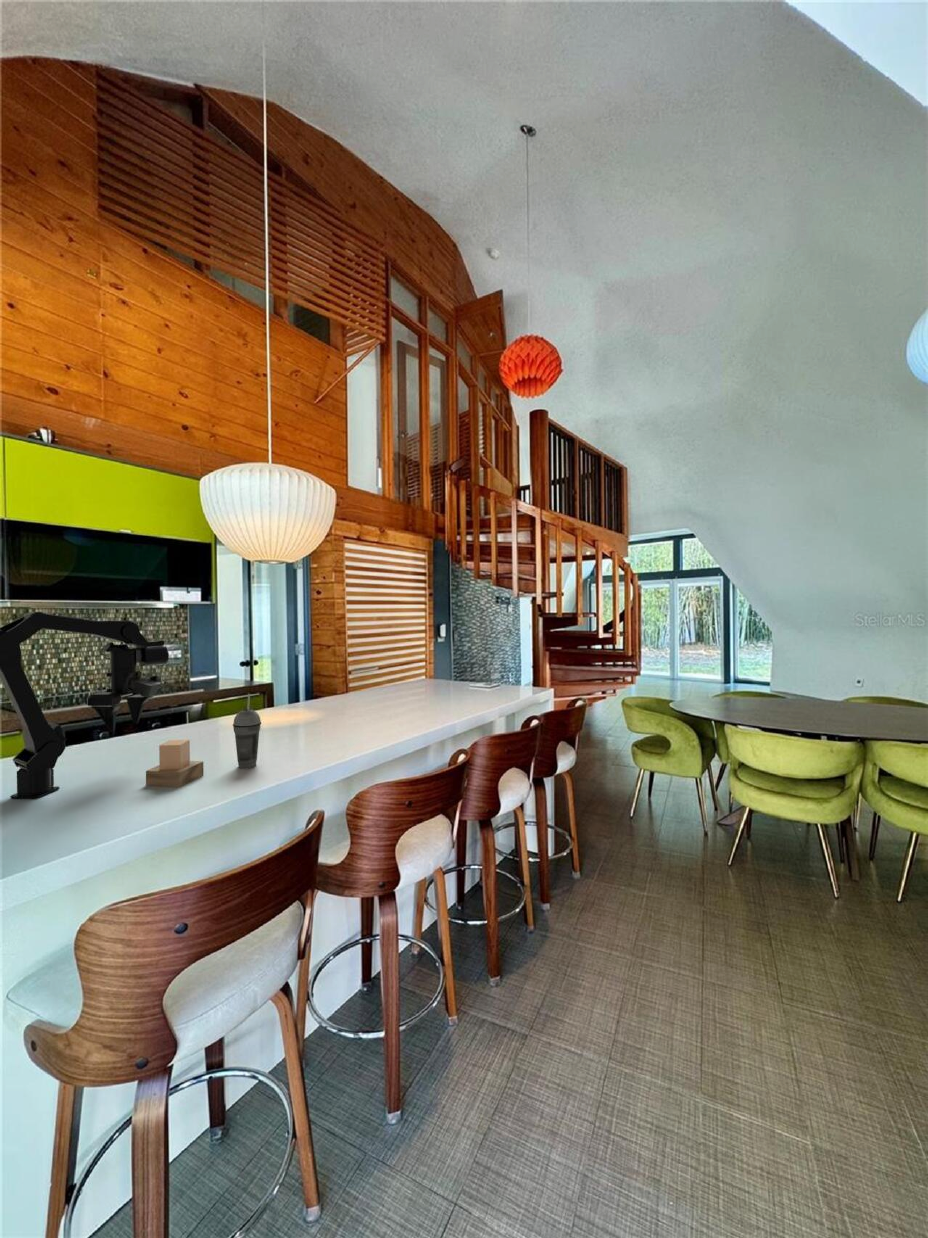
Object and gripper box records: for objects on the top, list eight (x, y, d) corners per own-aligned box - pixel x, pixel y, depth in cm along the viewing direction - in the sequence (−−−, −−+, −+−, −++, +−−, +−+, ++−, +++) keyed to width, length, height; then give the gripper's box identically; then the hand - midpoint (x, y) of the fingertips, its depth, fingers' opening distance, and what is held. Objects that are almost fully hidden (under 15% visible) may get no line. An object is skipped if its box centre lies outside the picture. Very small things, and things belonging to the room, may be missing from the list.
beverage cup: (253, 760, 145) (252, 690, 145) (266, 765, 141) (266, 693, 140) (227, 766, 140) (227, 693, 139) (241, 771, 135) (240, 696, 135)
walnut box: (179, 788, 123) (179, 772, 123) (145, 787, 125) (145, 770, 124) (203, 776, 132) (203, 761, 132) (171, 775, 133) (171, 760, 133)
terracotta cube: (180, 769, 126) (180, 745, 126) (159, 769, 125) (159, 745, 125) (189, 763, 131) (189, 739, 131) (169, 763, 130) (169, 740, 130)
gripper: (130, 672, 125) (130, 735, 125) (174, 664, 143) (175, 719, 144) (85, 672, 125) (86, 735, 125) (135, 664, 144) (136, 719, 144)
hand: (124, 727), depth 134 cm, fingers open, 9 cm apart
